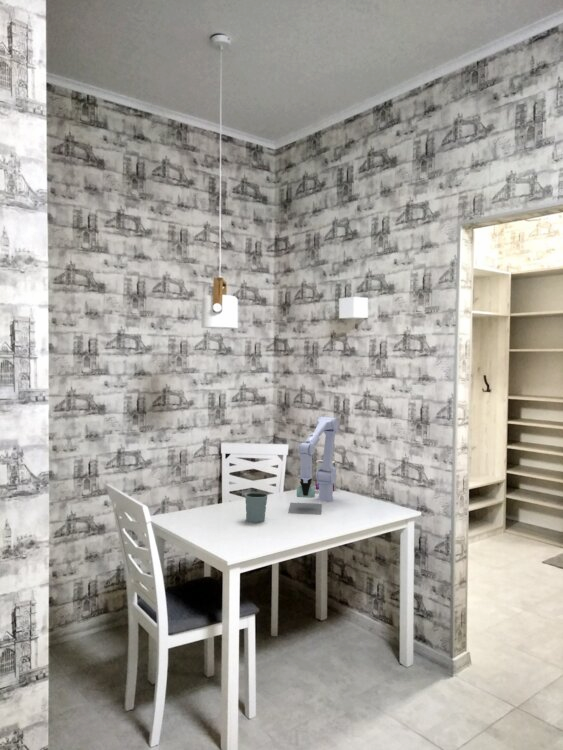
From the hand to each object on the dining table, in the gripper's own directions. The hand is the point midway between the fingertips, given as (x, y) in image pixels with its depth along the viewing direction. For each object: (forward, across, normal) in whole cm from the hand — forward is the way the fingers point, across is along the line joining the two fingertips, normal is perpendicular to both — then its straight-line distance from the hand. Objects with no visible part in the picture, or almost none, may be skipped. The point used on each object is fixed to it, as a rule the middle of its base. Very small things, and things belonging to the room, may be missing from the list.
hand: (305, 494), depth 287 cm
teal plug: (+1, 0, +1) cm, 2 cm away
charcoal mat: (+8, 0, 0) cm, 8 cm away
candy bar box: (+8, -44, +10) cm, 46 cm away
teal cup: (+8, +22, -22) cm, 32 cm away
